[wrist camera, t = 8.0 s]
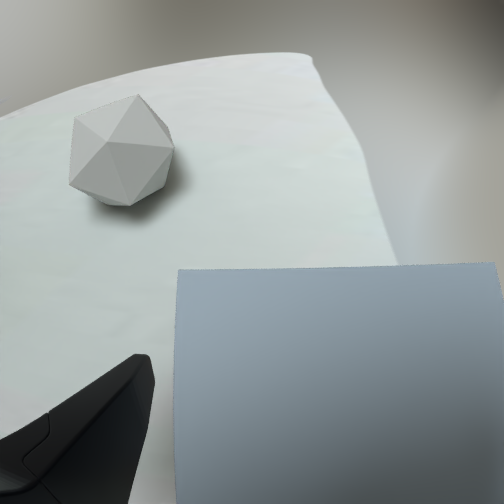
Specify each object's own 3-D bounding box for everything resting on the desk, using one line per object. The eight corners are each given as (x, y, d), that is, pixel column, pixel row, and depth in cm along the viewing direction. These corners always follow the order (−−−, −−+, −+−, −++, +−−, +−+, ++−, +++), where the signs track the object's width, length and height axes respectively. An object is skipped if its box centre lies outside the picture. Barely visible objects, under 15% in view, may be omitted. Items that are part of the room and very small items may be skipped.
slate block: (329, 451, 14) (503, 537, 2) (231, 457, 14) (187, 607, 2) (326, 360, 16) (494, 261, 4) (230, 364, 16) (178, 269, 4)
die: (178, 142, 29) (103, 79, 23) (217, 154, 23) (119, 67, 16) (125, 211, 29) (45, 155, 23) (148, 245, 23) (38, 172, 16)
